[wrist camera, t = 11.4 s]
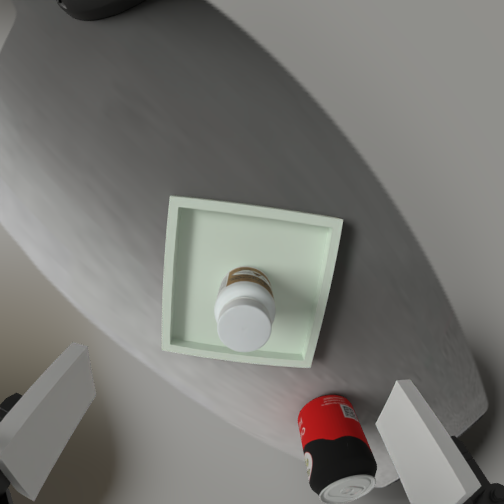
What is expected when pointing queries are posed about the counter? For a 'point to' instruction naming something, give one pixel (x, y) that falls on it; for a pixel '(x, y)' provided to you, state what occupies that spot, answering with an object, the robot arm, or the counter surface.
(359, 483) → the beverage can
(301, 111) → the counter surface
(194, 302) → the tray
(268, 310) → the pill bottle
